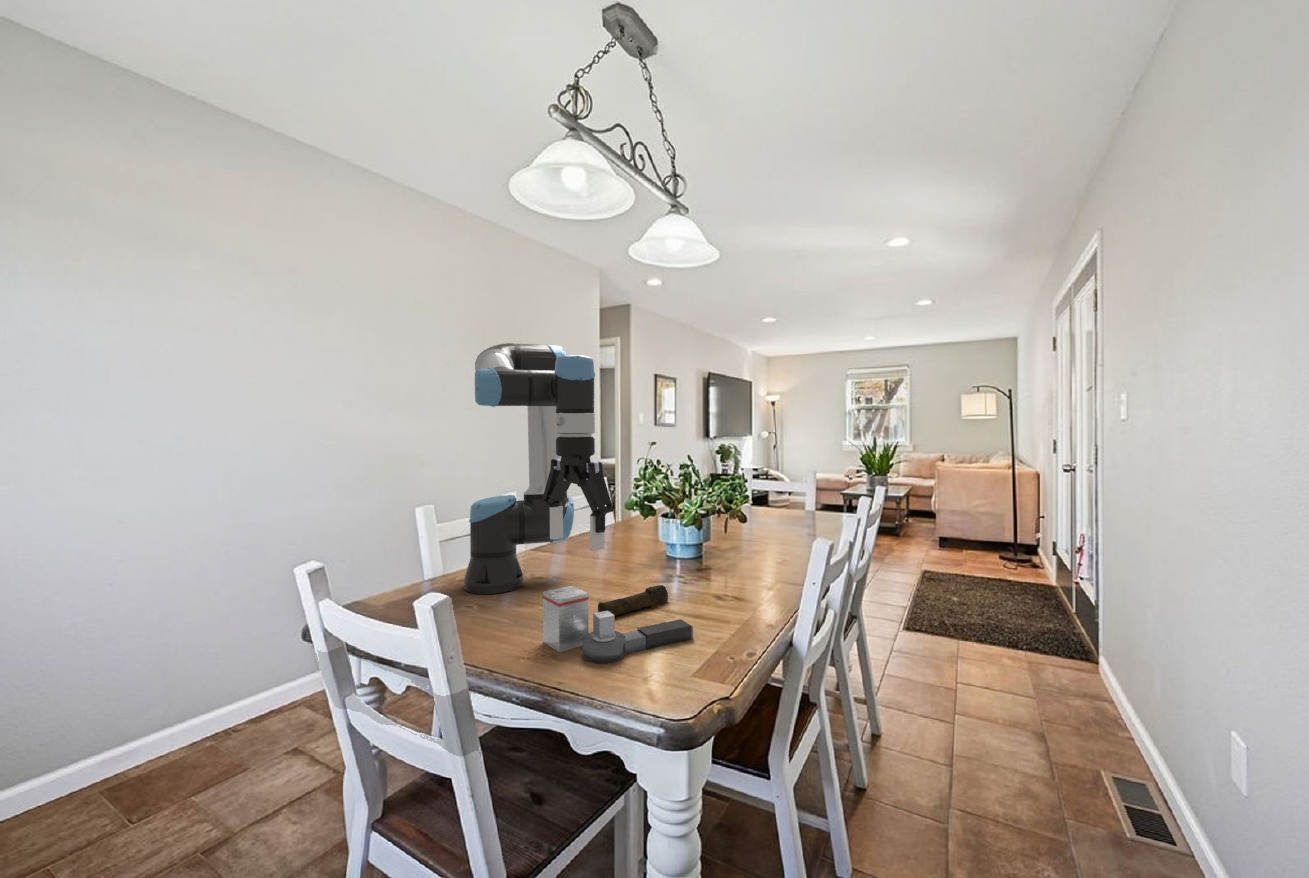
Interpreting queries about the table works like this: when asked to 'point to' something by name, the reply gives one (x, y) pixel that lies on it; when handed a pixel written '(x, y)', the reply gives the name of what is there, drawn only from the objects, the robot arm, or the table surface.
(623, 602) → the hand tool
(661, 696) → the table surface
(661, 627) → the ratchet
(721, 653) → the table surface
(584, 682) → the table surface
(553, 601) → the red-striped grey block
